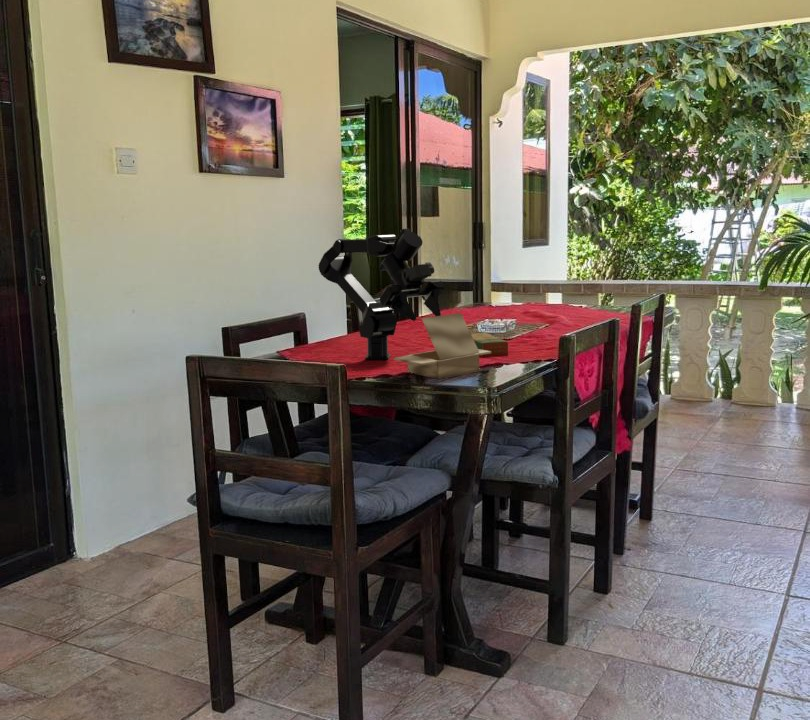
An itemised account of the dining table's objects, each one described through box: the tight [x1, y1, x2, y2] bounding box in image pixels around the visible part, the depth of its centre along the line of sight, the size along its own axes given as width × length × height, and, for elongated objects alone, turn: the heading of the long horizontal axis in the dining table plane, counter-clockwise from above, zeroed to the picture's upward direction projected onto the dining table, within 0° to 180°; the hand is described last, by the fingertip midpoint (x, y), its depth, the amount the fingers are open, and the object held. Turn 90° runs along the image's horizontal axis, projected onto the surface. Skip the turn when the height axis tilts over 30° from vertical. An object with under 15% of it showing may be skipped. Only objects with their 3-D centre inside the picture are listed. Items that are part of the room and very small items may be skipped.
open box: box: [393, 349, 491, 380], centre depth 216 cm, size 12×24×4 cm, turn 130°
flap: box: [421, 312, 479, 360], centre depth 213 cm, size 12×13×1 cm
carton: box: [471, 332, 509, 357], centre depth 246 cm, size 8×16×4 cm, turn 18°
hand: (427, 318), depth 219 cm, fingers open, 8 cm apart
